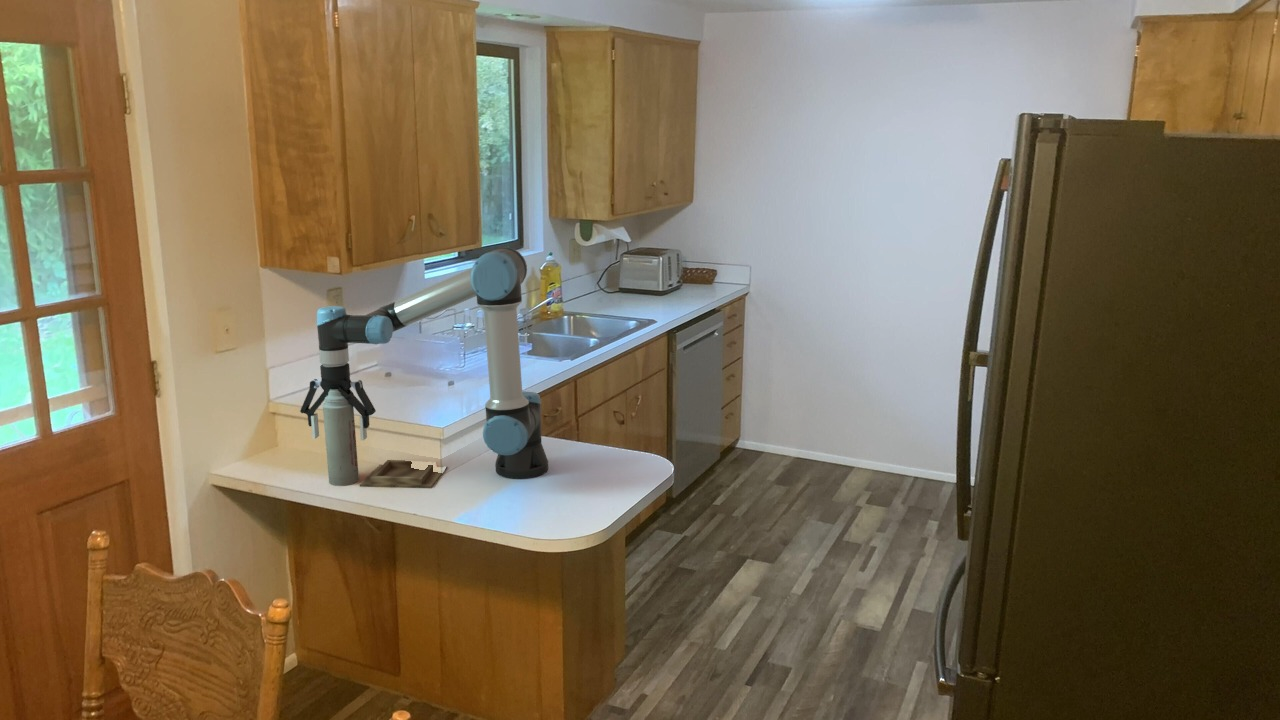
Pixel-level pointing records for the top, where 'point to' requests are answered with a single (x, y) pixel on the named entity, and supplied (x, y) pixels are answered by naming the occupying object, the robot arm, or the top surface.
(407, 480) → the brown wooden tray
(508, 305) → the robot arm
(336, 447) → the thermos bottle
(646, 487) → the top surface
